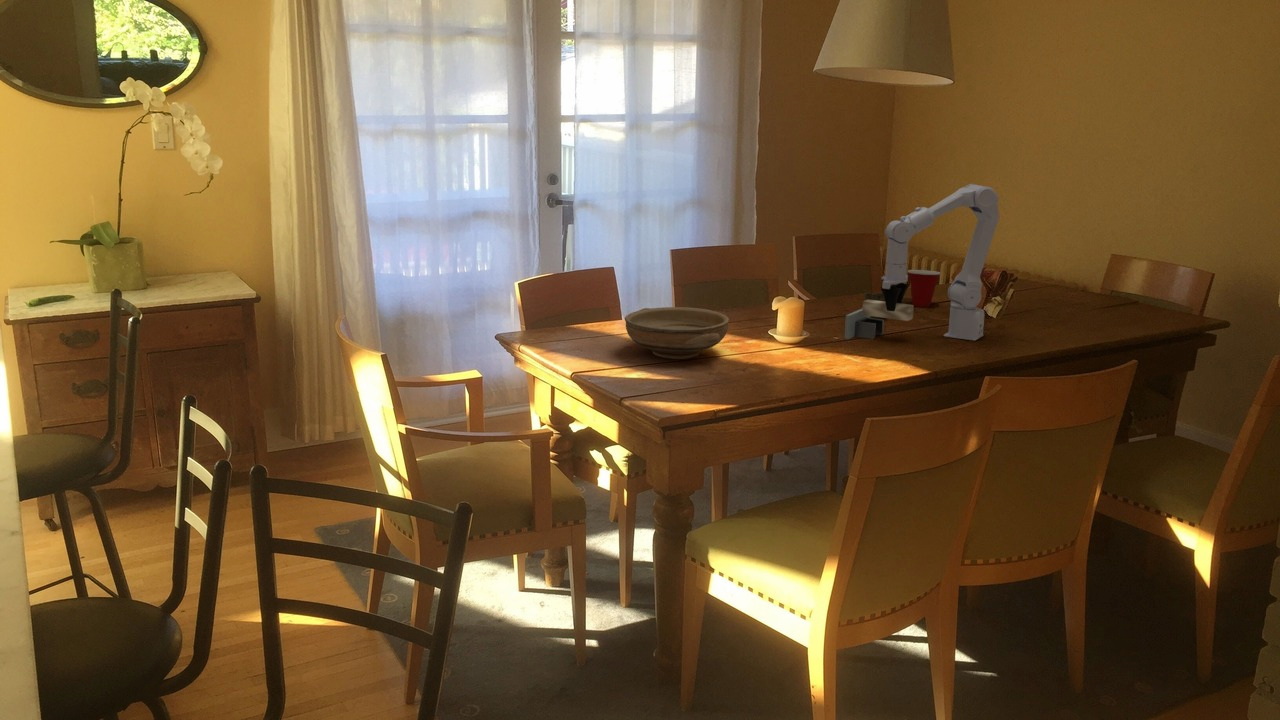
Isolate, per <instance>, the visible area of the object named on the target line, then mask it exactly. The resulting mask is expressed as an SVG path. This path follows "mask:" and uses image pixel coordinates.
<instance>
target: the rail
mask: <svg viewBox="0 0 1280 720" xmlns="http://www.w3.org/2000/svg"><path fill="white" fill-rule="evenodd" d="M914 307H915V306H914V305H913V304H909V303H908V304H907V303H902V304H901V303H896V308H895V311H887V308H886V303H885V302H884V301H876V300H865V299H864V301H862V308H863V311H862V315H867V316H875V317H881V319H882V318H884V319H891V320H898V321H905V322H908V321H910V320H913V319H914Z"/></svg>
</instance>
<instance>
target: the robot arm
mask: <svg viewBox="0 0 1280 720" xmlns="http://www.w3.org/2000/svg"><path fill="white" fill-rule="evenodd" d="M999 198H1000V197H999V195H998V194H997V192H996V191H995V189H993V188H992V187H990V186H985V185H984V186H983V185H979V184H975V183H970V184H967V185H965V186H963V187H960V188H958V189H957V190H956V191H955V192H953V193H951V194H950V195H948V196H947V197H945V198H944V199H942V200H940V201H939V202H937V203H935V204H934V205H932V206H930V207H925V206H921V207H919V206H917V207H916V208H914V211H912V212H911V213H909V214H908V215H906V216H904V215H902V216H901V217H899V218H900V219H899V220H892V221H890V222H889V223H888V224H887V226H886V229H884V235H885V237H886V238H887V246H886V247H887V248H886V261H885V262H886V263H885V275H884V276H881V280H883V281H882V285H881V286H880V290H881V292H882V293H883V295H884V298H885V303H886V308H887V311H895V308H896V303H901V304H903V299H904V296H905V294H906V292H907V291H908V289H909V287H910V283H907V282H908V279H909V274H907V267H908V251H909V241H910V240H911V239H912V237H913V235H916V234H917V233H920V232H921V231H923V230H924V229H927V228H929V227H930V226H933V224H934V221H935V219H937V218H939V217H940V216H943V215H945V214H947V213H949V212H951V211H954V210H955V209H957V208H959V207H968V208H969V209H970V210H972V212H973V214H974V215H975V217H976V218H977V222H976V225H975V228H974V231H973V235H972V237H971V240H970V244H969V246H968V249H967V253H966V256H965V258H964V261H963V262H964V263H963V266H962V268H961V271H960V272H959V273H958V274H957V275H955V277H954V280H953V282H952V283H951V284H950V285H949V286H948V289H947V296H948V299H949V300H950V308H949V322H948V332H946V333H945V334H943V337H946V338H952V339H953V338H954V339H960V340H968V341H977V340H979V339H981V338H982V337H983V336H984V326H985V310H984V309H982V308H979V307H977V306H979V304H980V302H981V301H982V288H983V283H982V280H981V275H982V272H983V270H984V265H985V262H986V260H987V256H988V253H989V251H990V250H989V249H990V247H991V243H992V241H993V238H994V234H995V231H996V230H997V229H996V228H997V225H998V222H999V221H1000V214H999V213H1000V211H999V205H998V202H999Z"/></svg>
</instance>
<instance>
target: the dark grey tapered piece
mask: <svg viewBox="0 0 1280 720" xmlns="http://www.w3.org/2000/svg"><path fill="white" fill-rule="evenodd" d="M865 300H876V301H884V302H885V298H884V295H883V292H882V291H881V292H877V291H876V293H875V294H874V293H873V292H870V291H868V292H865V293H864V301H865ZM871 318H874V319H882V317H875V316H871Z"/></svg>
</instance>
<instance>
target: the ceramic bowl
mask: <svg viewBox="0 0 1280 720" xmlns="http://www.w3.org/2000/svg"><path fill="white" fill-rule="evenodd" d="M624 321H625V330H626V332H627V335H628V336H629V339H631V340H632V342H634V343H636V344H637V345H638V346H640V347H642V348H645V349H648V350H650V351H652V354H653V355H654V356H656V357H659V358H664V359H671V360H673V359H675V360H680V359H681V360H682V359H683V360H685V359H690V358H691V359H692V358H695V357H698V356H699V355H700V354H701V352H702V351H705V350H707V349H710V348H712V347H714V346H716V345H718V344H719V343H720V342H721V341H722V340H723V339H724V338H725V337H726V335H727V333H728V329H729V322H730V319H729V317H728V316H727V315H726V314H724V313H723V312H722V313H721V312H719V311H715V310H711V309H706V308H698V307H697V308H696V307H686V306H685V307H682V306H673V307H672V306H670V307H669V306H668V307H666V306H665V307H654V308H653V307H652V308H650V307H649V308H648V307H646V308H641V309H639V310H635V311H633V312H630V313H628V314H627V315H626V316H625V317H624Z"/></svg>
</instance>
